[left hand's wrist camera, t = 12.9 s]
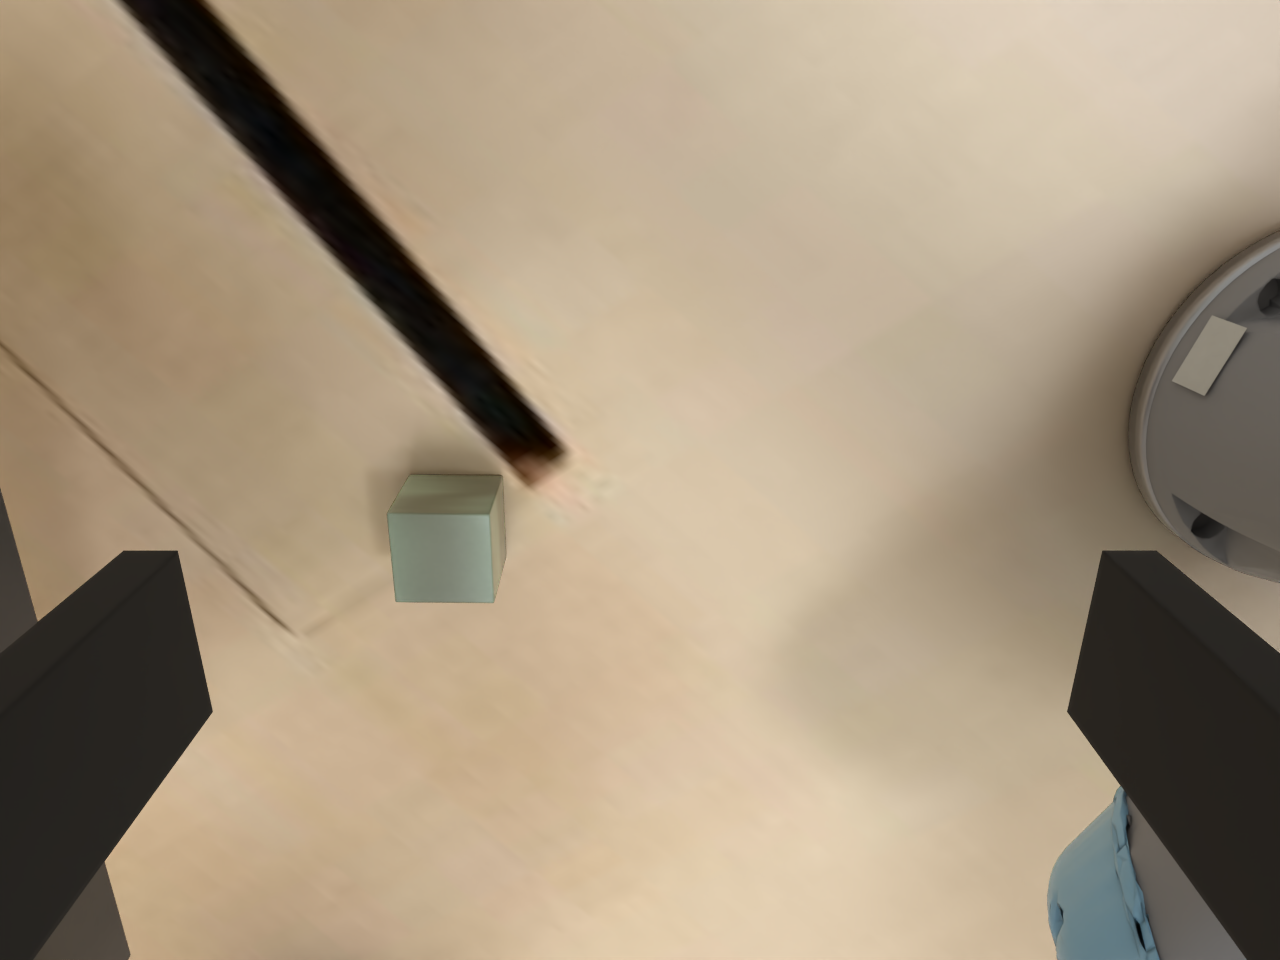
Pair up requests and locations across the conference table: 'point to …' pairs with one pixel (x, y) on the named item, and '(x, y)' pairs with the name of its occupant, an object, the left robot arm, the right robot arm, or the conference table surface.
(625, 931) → the conference table surface
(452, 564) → the sage block
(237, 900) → the conference table surface
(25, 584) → the beam
